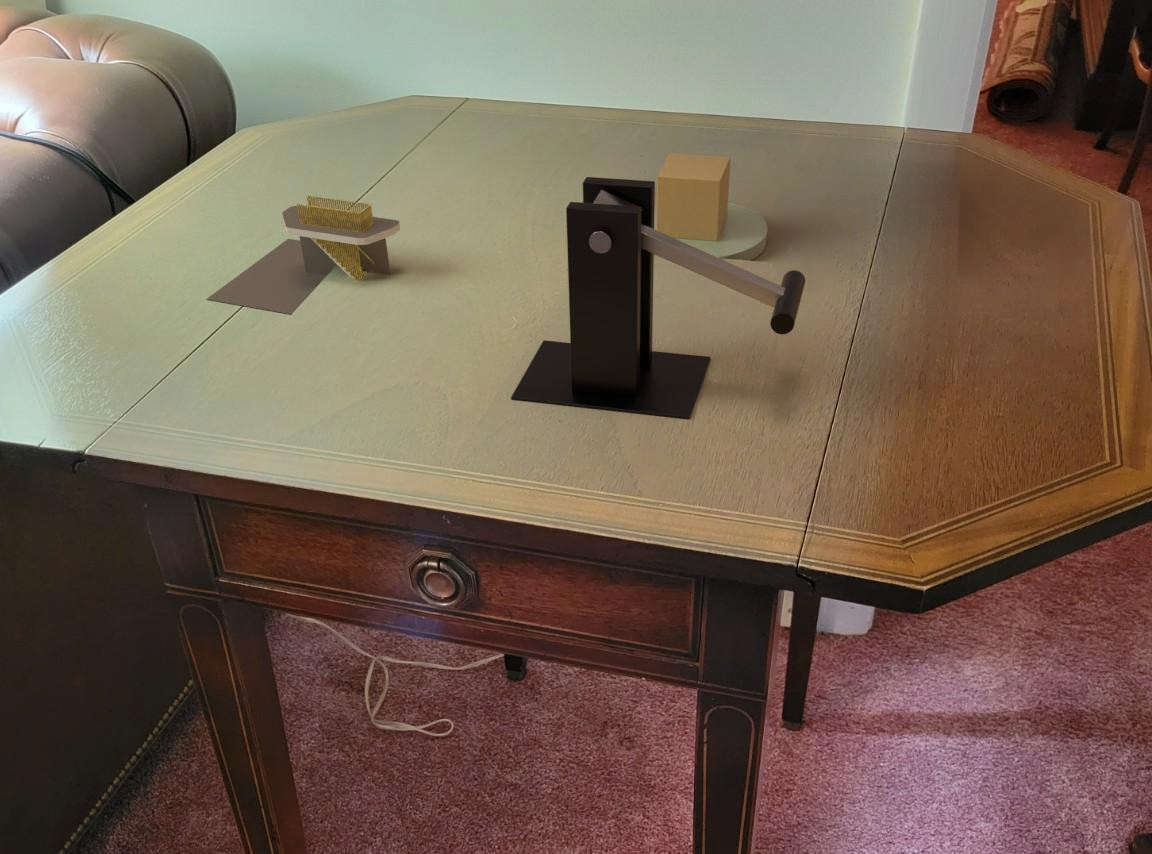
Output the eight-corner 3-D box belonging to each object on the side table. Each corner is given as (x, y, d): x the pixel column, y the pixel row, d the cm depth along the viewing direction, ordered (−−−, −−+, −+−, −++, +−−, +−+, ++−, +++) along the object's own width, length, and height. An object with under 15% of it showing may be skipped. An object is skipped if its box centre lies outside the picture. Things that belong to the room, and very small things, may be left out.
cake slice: (727, 216, 101) (730, 157, 98) (717, 241, 98) (720, 180, 95) (668, 212, 103) (669, 153, 99) (656, 236, 99) (657, 176, 96)
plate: (775, 217, 104) (776, 203, 103) (755, 278, 95) (756, 264, 94) (638, 207, 107) (638, 193, 106) (606, 266, 98) (606, 252, 97)
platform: (406, 334, 90) (395, 251, 86) (206, 299, 96) (186, 219, 92) (476, 267, 99) (469, 188, 94) (288, 238, 104) (273, 162, 100)
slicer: (709, 371, 85) (720, 175, 76) (688, 432, 79) (697, 228, 70) (544, 354, 87) (534, 163, 78) (511, 412, 81) (498, 213, 72)
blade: (796, 300, 78) (812, 269, 77) (784, 345, 74) (801, 312, 72) (596, 211, 78) (608, 177, 77) (572, 250, 74) (585, 215, 72)
